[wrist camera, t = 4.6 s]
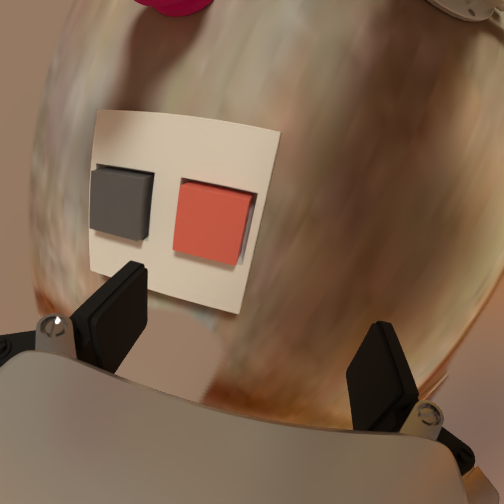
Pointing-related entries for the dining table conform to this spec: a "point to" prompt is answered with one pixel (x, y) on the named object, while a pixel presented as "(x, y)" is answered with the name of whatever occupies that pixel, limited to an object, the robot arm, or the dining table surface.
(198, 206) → the button red
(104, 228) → the button black
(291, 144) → the dining table surface
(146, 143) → the switch panel
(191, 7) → the pepper mill
